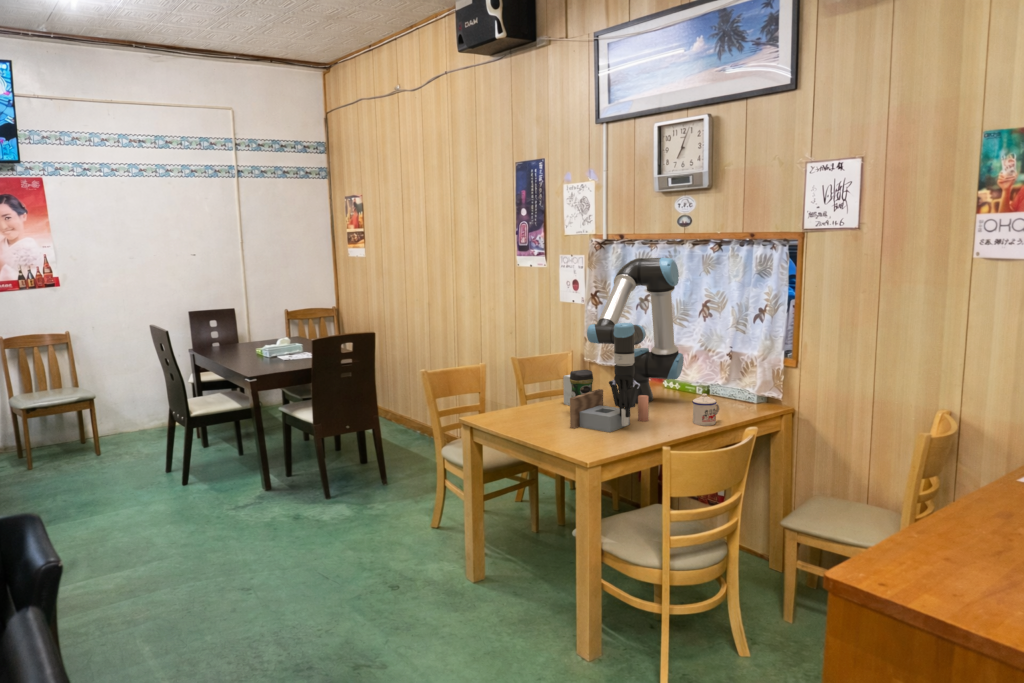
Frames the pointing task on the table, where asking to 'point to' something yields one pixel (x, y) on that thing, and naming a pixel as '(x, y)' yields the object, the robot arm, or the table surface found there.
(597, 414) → the socket block
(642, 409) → the dowel
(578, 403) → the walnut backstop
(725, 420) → the table surface
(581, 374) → the coffee jar
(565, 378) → the small box
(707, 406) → the teacup with lid
